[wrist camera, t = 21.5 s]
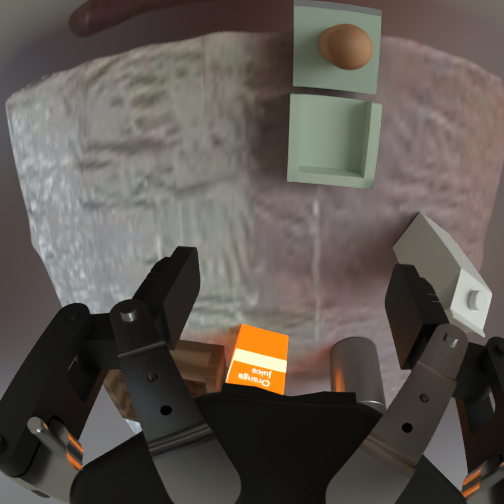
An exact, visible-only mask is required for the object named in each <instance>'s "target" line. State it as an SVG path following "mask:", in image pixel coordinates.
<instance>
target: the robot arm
mask: <svg viewBox="0 0 504 504" xmlns="http://www.w3.org/2000/svg"><path fill="white" fill-rule="evenodd" d="M199 290H200V271H199V261H198V251H197V248H196V247H184V246H178V247H177V248H176V249H175V251H174V252H173V254H172V255H171V257H164V258H163V259H161V260H160V261H158V262H157V263H156V264H155V265H154V267H153V268H152V269H151V271H150V272H149V274H148V275H147V277H146V279H145V280H144V281H143V283H142V284H141V286H140V287H139V289H138V290H137V291H136V293H135V294H134V296H133V298H132V299H127V300H124V301H121V302H119V303H117V304H116V305H115V306H114V307H113V308H112V309H111V311H110V313H103V314H90V311H89V309H88V307H87V306H86V305H84V304H82V303H72V304H69V305H67V306H65V307H63V308H62V309H60V310H59V312H58V313H57V314H56V315H55V317H54V318H53V320H52V321H51V322H50V324H49V325H48V327H47V328H46V330H45V331H44V332H43V334H42V335H41V337H40V338H39V340H38V341H37V343H36V344H35V346H34V347H33V349H32V350H31V352H30V353H29V355H28V356H27V358H26V359H25V361H24V363H23V364H22V365H21V367H20V369H19V370H18V372H17V373H16V375H15V377H14V378H13V380H12V382H11V383H10V385H9V387H8V389H7V390H6V392H5V394H4V395H3V397H2V399H1V400H0V470H1V472H2V473H4V474H5V475H6V476H7V477H9V478H10V479H12V480H13V481H15V482H16V483H18V484H19V485H21V486H22V487H24V488H26V489H28V490H30V491H32V492H34V493H35V494H37V495H39V496H41V497H45V498H49V497H52V498H54V499H56V500H58V501H61V502H63V503H65V504H504V339H503V338H501V337H492V338H490V339H489V340H488V342H487V343H486V345H485V346H482V345H479V344H474V343H471V342H469V341H468V337H467V335H466V334H465V332H464V331H463V330H462V329H460V328H459V327H457V326H455V325H452V324H450V322H449V320H448V318H447V315H446V313H445V311H444V309H443V307H442V305H441V303H439V299H438V297H437V296H436V292H435V290H434V288H433V286H432V285H431V284H430V283H429V282H428V281H427V280H426V279H425V278H423V277H420V276H419V274H418V272H417V270H416V268H415V266H414V265H410V264H396V265H395V266H394V269H393V272H392V276H391V279H390V282H389V286H388V289H387V292H386V296H385V310H386V313H387V317H388V321H389V324H390V328H391V332H392V336H393V340H394V343H395V347H396V352H397V356H398V360H399V364H400V368H401V370H406V369H411V373H410V375H409V376H408V378H407V380H406V381H405V383H404V384H403V386H402V388H401V389H400V391H399V392H398V394H397V395H396V397H395V398H394V400H393V401H392V403H391V404H390V406H389V407H388V409H387V410H386V403H385V396H384V390H383V383H382V377H381V371H380V366H379V360H378V355H377V350H376V346H375V344H374V343H373V342H372V341H370V340H369V339H366V338H361V337H353V338H348V339H345V340H343V341H341V342H339V343H337V344H336V345H335V346H334V347H333V348H332V350H331V352H330V377H331V392H327V391H323V392H318V393H312V394H305V395H299V396H285V395H282V394H279V393H275V392H272V391H269V390H266V389H263V388H260V387H257V386H249V385H241V384H233V383H225V382H223V385H222V389H221V391H219V392H211V393H207V394H203V395H200V396H197V397H195V398H192V396H191V394H190V392H189V390H188V388H187V386H186V384H185V382H184V380H183V378H182V376H181V374H180V372H179V370H178V368H177V366H176V364H175V362H174V360H173V358H172V356H171V353H170V351H169V350H172V351H174V350H175V347H176V345H177V343H178V340H179V338H180V336H181V333H182V331H183V328H184V326H185V324H186V321H187V319H188V317H189V314H190V312H191V310H192V308H193V305H194V303H195V301H196V298H197V296H198V294H199ZM74 359H75V360H74ZM73 360H74V362H73ZM72 362H73V363H72ZM71 364H72V365H71ZM70 365H71V367H70ZM69 367H70V369H69ZM68 369H69V371H68ZM116 369H122V372H123V376H124V379H125V382H126V385H127V388H128V391H129V395H130V398H131V401H132V403H133V406H134V409H135V412H136V415H137V418H138V420H139V423H140V426H141V428H142V431H141V432H140V433H138V434H136V435H135V436H133V437H132V438H130V439H129V440H127V441H125V442H123V443H122V444H120V445H119V446H117V447H115V448H114V449H112V450H110V451H109V452H107V453H105V454H103V455H102V456H100V457H98V458H96V459H95V460H93V461H91V462H90V463H88V464H87V465H85V466H84V467H83V468H82V459H83V449H82V446H81V444H80V443H79V441H78V440H79V438H80V435H81V433H82V431H83V428H84V426H85V423H86V421H87V419H88V416H89V414H90V412H91V409H92V407H93V405H94V402H95V400H96V398H97V396H98V393H99V391H100V389H101V386H102V384H103V382H104V380H105V378H106V376H107V374H108V371H109V370H116ZM490 392H492V393H493V397H494V400H495V405H496V406H495V412H493V408H492V405H491V401H490V398H489V394H490ZM451 397H454V398H455V400H456V405H457V409H458V414H459V419H460V424H461V429H462V435H463V441H464V447H465V454H466V461H467V468H468V475H467V476H466V478H465V480H464V482H463V485H462V490H461V492H460V491H459V490H458V489H457V488H456V487H455V486H454V485H453V484H452V483H451V482H450V481H449V480H448V479H447V478H446V477H445V476H444V475H443V474H442V473H441V472H440V471H439V470H438V469H437V468H436V467H435V466H434V465H433V464H432V463H431V462H430V461H429V460H428V459H427V458H426V457H425V456H424V455H423V453H424V451H425V449H426V448H427V446H428V444H429V442H430V440H431V438H432V436H433V435H434V432H435V431H436V429H437V426H438V425H439V423H440V420H441V419H442V416H443V414H444V412H445V410H446V408H447V406H448V404H449V401H450V399H451Z"/></svg>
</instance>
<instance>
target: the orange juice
mask: <svg viewBox="0 0 504 504" xmlns="http://www.w3.org/2000/svg"><path fill="white" fill-rule="evenodd" d="M287 347H288V336H286V335H282V334H278V333H275V332H271V331H267V330H263V329H259V328H255V327H252V326H248V325H244V324H242V326H241V329H240V332H239V335H238V338H237V341H236V345H235V348H234V351H233V355H232V359H231V364H230V368H229V371H228V375H227V379H226V383H233V384H241V385H249V386H257V387H260V388H263V389H266V390H269V391H272V392H275V393H279V394H282V395H283V394H284V383H285V373H286V364H287V361H286V360H287Z"/></svg>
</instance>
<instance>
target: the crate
mask: <svg viewBox="0 0 504 504" xmlns="http://www.w3.org/2000/svg"><path fill="white" fill-rule="evenodd" d="M381 114H382V104H380V103H376V102H372V101H367V100H360V99H353V98H345V97H336V96H327V95H316V94H303V93H291V94H290V123H289V148H288V170H287V181H288V182H302V183H314V184H326V185H337V186H347V187H356V188H366V189H373V182H374V175H375V168H376V161H377V153H378V144H379V135H380V125H381Z"/></svg>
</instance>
